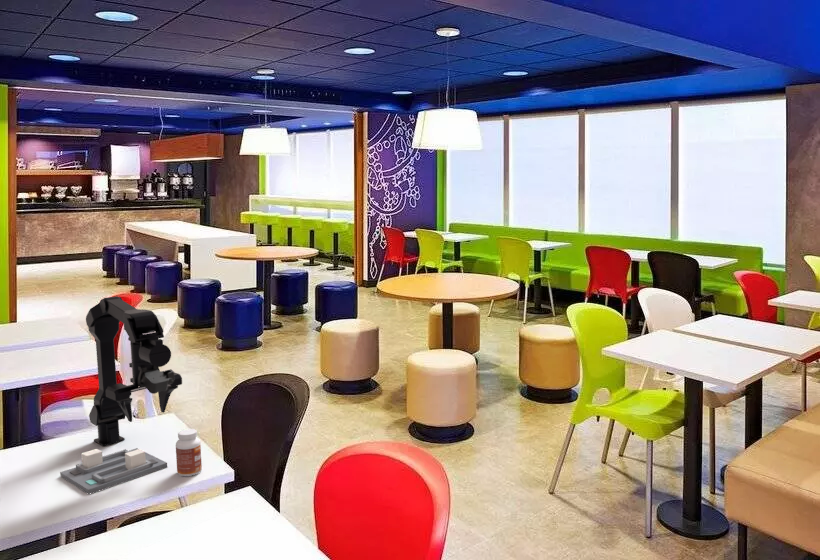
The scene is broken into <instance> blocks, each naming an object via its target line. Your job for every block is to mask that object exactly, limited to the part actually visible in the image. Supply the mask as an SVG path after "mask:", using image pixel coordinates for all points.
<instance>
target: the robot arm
mask: <svg viewBox="0 0 820 560" xmlns="http://www.w3.org/2000/svg"><path fill="white" fill-rule="evenodd" d="M85 322H86V326H87V327H88V331H89V334H90V335H91V336H92V337H93V338H94V340H95V347H96V348H95V349H96V363H97V364H96V365H97V377H98V379H97V380H98V389H97V392H95V395H94V397H93V406H92V407H91V410H90V412H89V415H88V417H89V422H90V424H92V425H94V426H95V427H97V436H98V437H97V438H94V439H93V442H95V443H97V444H98V445H101V446H102V447H105V446H106V447H107V446H109V445H112V444H117V443H119V442H121V441H125V440H126V438H125V437H123V436H121V435H120V425H119V423H120V422H119V421H121V420H125V419H127V421H128V422H130V423H132V422H133V410H132V402H133V398H132V397H131V396H132V393H135V392H138V391H142V390H145V389H146V390H147V391H148V392H149V393H150V394H152V395H153V394H154V395H155V394H158V402H159V408H160V412H161V413H163V414H164V413H165V412H166V409H167V405H168V403H169V399H170V396H171V394H172V393H173V391H174V390H176V389H178V388H179V386H182V385H183V377H182V375H181V374H179V373H177V372H175V371H174V370H172V369H166V370H161V371H160V368H162V367H164V366H166V365H167V364H168V363H169V362H170V360H171V358H172V351H171V349H170V347H169V346H167V345H166V344H163V343H164V342H163V341H164V340H163V338H165V334H164V328H163V327H162V325H161V323H160V321H159V318H158V316H157V315H156V313H155V312H154V311H153V310H150V309H138V308H136V307H134V306H132V305H131V304H130V303H127V302H126V301H125V300H123V299H122V297H121V296H118V295H116V296H110V297H109V296H108V297H103V298H101V299H100V301H99V302H98V303H97V304H96V305H94V306H92V307H91V308H90V309H89V310H88V312H87V314H86V316H85ZM120 322H121V323H122V324H123V330H124V331H125V333H126V334H127V337H128V339H127V340H128V341H129V342H130V344H129V345H130V356H131V357H130V359H131V362H129V363H128V364H129V368H131V372H132V377H131V378H129V379H130V383H132V384H128V385H126V384H124V383H119V382H118V381H117V369H116V366H117V365H116V354H115V353H116V352H115V338H116V336H117V334H118V332H119V330H120ZM117 382H118V383H117Z"/></svg>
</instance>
